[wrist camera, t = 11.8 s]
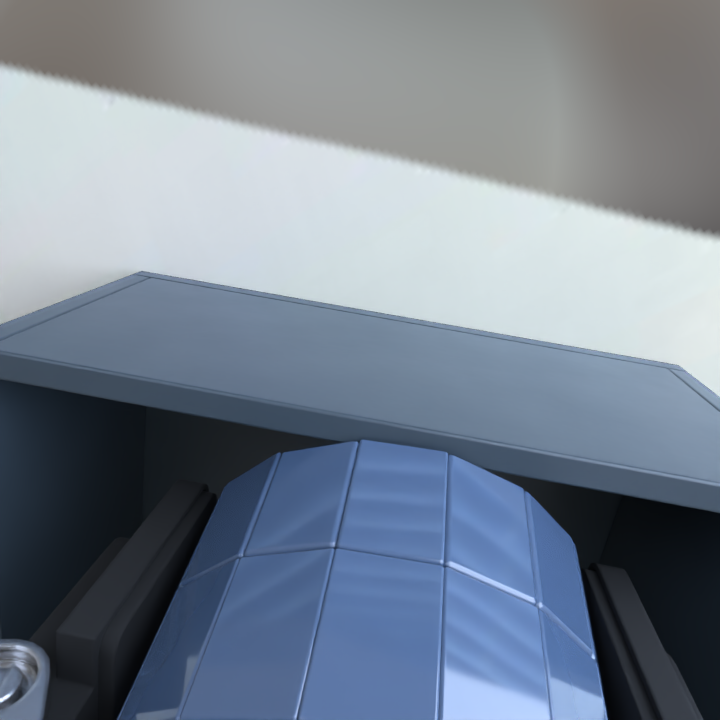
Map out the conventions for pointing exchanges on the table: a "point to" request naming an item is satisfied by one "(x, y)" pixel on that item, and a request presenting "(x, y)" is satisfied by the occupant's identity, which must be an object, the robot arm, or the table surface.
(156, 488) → the tub
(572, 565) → the faceted blue pot
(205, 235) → the table surface
